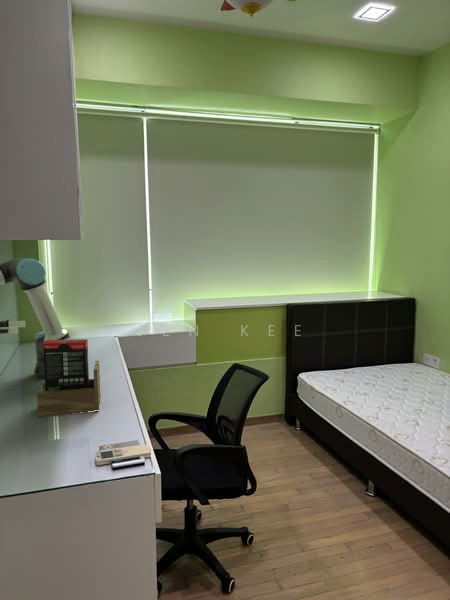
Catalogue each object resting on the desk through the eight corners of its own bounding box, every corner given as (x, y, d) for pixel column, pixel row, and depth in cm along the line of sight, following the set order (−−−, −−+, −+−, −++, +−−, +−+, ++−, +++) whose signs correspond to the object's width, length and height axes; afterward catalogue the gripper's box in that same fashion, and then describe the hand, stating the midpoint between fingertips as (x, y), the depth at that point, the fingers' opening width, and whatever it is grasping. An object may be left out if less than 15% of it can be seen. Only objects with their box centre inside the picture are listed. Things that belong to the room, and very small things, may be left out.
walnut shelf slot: (44, 404, 185) (42, 364, 182) (100, 399, 190) (99, 360, 188) (38, 417, 171) (35, 373, 169) (98, 411, 177) (97, 369, 174)
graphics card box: (90, 398, 186) (88, 337, 182) (88, 404, 179) (85, 341, 176) (49, 401, 183) (45, 339, 179) (45, 407, 176) (41, 342, 173)
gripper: (-24, 331, 189) (28, 329, 193) (-46, 345, 165) (14, 342, 169) (-25, 315, 188) (27, 313, 192) (-47, 326, 164) (13, 323, 168)
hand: (21, 326), depth 181 cm, fingers open, 13 cm apart
